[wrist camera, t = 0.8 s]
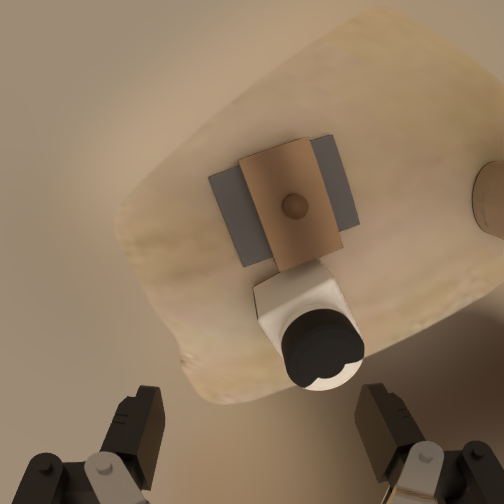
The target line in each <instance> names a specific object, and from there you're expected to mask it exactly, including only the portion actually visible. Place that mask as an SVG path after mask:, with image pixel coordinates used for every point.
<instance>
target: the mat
mask: <svg viewBox="0 0 504 504" xmlns="http://www.w3.org/2000/svg"><path fill="white" fill-rule="evenodd" d="M310 143H311V146H312V149H313V151H314V154H315V157H316V160H317V163H318V166H319V169H320V172H321V175H322V178H323V181H324V184H325V188H326V191H327V194H328V197H329V200H330V203H331V207H332V210H333V213H334V217H335V220H336V223H337V227H338V230H339V232H341V231H343V230H346V229H349V228H351V227H354V226H357V225H359V224H360V223H359V219H358V215H357V212H356V208H355V205H354V201H353V198H352V194H351V191H350V187H349V184H348V181H347V177H346V174H345V171H344V168H343V165H342V162H341V158H340V155H339V152H338V149H337V146H336V143H335V140H334V137H333V135H328V136H325V137H321V138H318V139H315V140H312V141H310ZM208 179H209V181H210V184H211V186H212V189H213V191H214V194H215V197H216V199H217V202H218V204H219V207H220V209H221V212H222V214H223V217H224V220H225V222H226V225H227V227H228V230H229V232H230V235H231V237H232V240H233V242H234V245H235V247H236V250H237V252H238V255H239V257H240V260H241V262H242V265H243V267H246V266H249V265H252V264H254V263H257V262H260V261H262V260H265V259H268V258H271V257H273V254H272V251H271V249H270V246H269V243H268V240H267V238H266V235H265V232H264V229H263V227H262V224H261V221H260V219H259V216H258V213H257V210H256V208H255V205H254V202H253V200H252V197H251V194H250V192H249V189H248V186H247V184H246V181H245V178H244V176H243V173H242V170H241V168H240V165H239V166H236V167H234V168H231V169H228V170H226V171H223V172H221V173H218V174H215V175H213V176H210V177H208Z"/></svg>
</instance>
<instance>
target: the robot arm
mask: <svg viewBox="0 0 504 504" xmlns="http://www.w3.org/2000/svg"><path fill="white" fill-rule="evenodd" d="M473 210H474V215H475V218H476V220H477V223H478V224H479V226H480V227H481V228H482V229H483V230H484V231H485V232H487V233H489V234H492V235H494V236H497V237H499V238H502V239H504V162H491V163H488V164H487V165H486V166H484V167H483V169H482V170H481V171H480V173H479V175H478V177H477V179H476V182H475V185H474V190H473ZM355 423H356V426H357V429H358V431H359V434H360V437H361V439H362V442H363V444H364V447H365V449H366V452H367V455H368V457H369V460H370V462H371V465H372V468H373V470H374V473H375V475H376V478H377V481H378V483H381V482H385V481H388V482H389V485H390V486H389V488H388V490H387V492H386V494H385V497H384V499H383V501H382V503H381V504H436V499H437V502H438V504H504V470H503V468H502V466H501V464H500V463H499V461H498V460H497V458H496V456H495V455H494V453H493V451H492V450H491V448H490V447H489V446H488V445H487V444H485V443H484V442H481V441H471V442H469V443H467V444H466V445H465V446H464V448H463V449H462V450H460V451H443V450H442V449H441V447H440V446H438V445H437V444H435V443H433V442H429V441H426V440H425V438H424V436H423V434H422V433H421V431H420V429H419V427H418V426H417V424H416V422H415V421H414V419H413V417H411V414H410V412H409V410H407V407H406V405H405V404H404V402H403V400H402V399H401V398H399V397H398V396H397V395H396V394H394V393H388V392H387V390H386V388H385V387H384V385H383V384H382V383H372V384H365V385H363V386H362V389H361V392H360V396H359V399H358V403H357V406H356V410H355ZM164 428H165V412H164V407H163V402H162V397H161V391H160V388H159V387H154V386H142V385H141V386H140V387H139V389H138V391H137V394H136V397H129V396H127V398H125V399H124V400H123V401H122V402H121V403H120V404H119V405H118V408H117V410H116V413H115V416H114V417H113V420H112V423H111V425H110V427H109V430H108V432H107V434H106V438H105V440H104V442H103V444H102V447H101V450H100V451H99V452H97V453H95V454H93V455H91V456H90V457H89V458H88V459H87V460H86V461H84V462H67V463H62V461H61V460H60V458H59V457H58V456H56V455H54V454H51V453H41V454H38V455H36V456H34V457H33V458H32V459H31V461H30V462H29V464H28V467H27V469H26V471H25V473H24V476H23V478H22V480H21V482H20V485H19V487H18V490H17V492H16V495H15V497H14V499H13V502H12V504H150V503H149V502H148V501H147V500H146V499H145V498H144V496H143V494H142V493H141V491H142V489H143V490H149V491H150V490H151V486H152V481H153V477H154V472H155V468H156V463H157V459H158V454H159V450H160V445H161V441H162V437H163V432H164Z"/></svg>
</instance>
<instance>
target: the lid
mask: <svg viewBox="0 0 504 504" xmlns="http://www.w3.org/2000/svg"><path fill="white" fill-rule="evenodd" d="M238 162H239V165H240V168H241V170H242V173H243V176H244V178H245V181H246V184H247V186H248V189H249V192H250V194H251V197H252V200H253V202H254V205H255V208H256V210H257V213H258V216H259V219H260V221H261V224H262V227H263V229H264V232H265V235H266V238H267V240H268V243H269V246H270V249H271V251H272V254H273V257H274V260H275V262H276V265H277V267H278V270H279V272H281V271H283V270H286V269H289V268H291V267H294V266H297V265H299V264H302V263H305V262H308V261H310V260H313V259H315V258H318V257H321V256H323V255H326V254H329V253H331V252H334V251H337V250H339V249H342V248H343V244H342V241H341V237H340V234H339V230H338V227H337V223H336V220H335V217H334V213H333V210H332V207H331V203H330V200H329V197H328V194H327V191H326V188H325V184H324V181H323V178H322V175H321V172H320V169H319V166H318V163H317V160H316V157H315V154H314V151H313V149H312V146H311V143H310V140H309V137H305V138H301V139H298V140H295V141H292V142H289V143H286V144H283V145H280V146H277V147H274V148H271V149H268V150H265V151H263V152H260V153H257V154H254V155H251V156H248V157H246V158H243V159H240V160H238Z"/></svg>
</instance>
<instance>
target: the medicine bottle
mask: <svg viewBox="0 0 504 504" xmlns="http://www.w3.org/2000/svg"><path fill="white" fill-rule="evenodd" d="M253 294H254V301H255V307H256V314H257V320H258V323H259V324H260V326H261V327H262V329H263V330H264V332H265V333H266V335H267V336H268V338H269V339H270V341H271V342H272V344H273V345H274V347H275V348H276V350H277V351H278V353H279V354H280V356H281V357H282V359H283V360H284V362H285V366H286V370H287V373H288V375H289V377H290V379H291V380H292V381H293V382H294V383H295V384H297V385H298V386H300V387H302V388H305V389H309V390H318V391H320V390H328V389H332V388H335V387H337V386H339V385H341V384H343V383H344V382H346V381H347V380H349V379H350V378H351V377H352V376H353V375H354V374H355V373H356V371H357V370H358V368H359V367H360V365H361V363H362V360H363V357H364V343H363V340H362V335H361V332H360V330H359V328H358V326H357V324H356V322H355V320H354V317H353V315H352V313H351V311H350V309H349V307H348V305H347V303H346V300H345V298H344V296H343V294H342V292H341V290H340V288H339V286H338V284H337V282H336V280H335V279H334V277H333V276H332V275H331V274H330V272H329V271H328V270H327V269H326V267H325V266H324V265H323V264H322V263H321V261H320V260H319V259H318V258H315V259H313V260H310V261H308V262H305V263H302V264H299V265H297V266H294V267H291V268H289V269H286V270H284V271H282V272H280V273H278V274H276V275H275V276H273V277H271V278H269V279H267V280H266V281H264V282H262V283H260V284H258V285H256V286H255V287H254V288H253Z"/></svg>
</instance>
